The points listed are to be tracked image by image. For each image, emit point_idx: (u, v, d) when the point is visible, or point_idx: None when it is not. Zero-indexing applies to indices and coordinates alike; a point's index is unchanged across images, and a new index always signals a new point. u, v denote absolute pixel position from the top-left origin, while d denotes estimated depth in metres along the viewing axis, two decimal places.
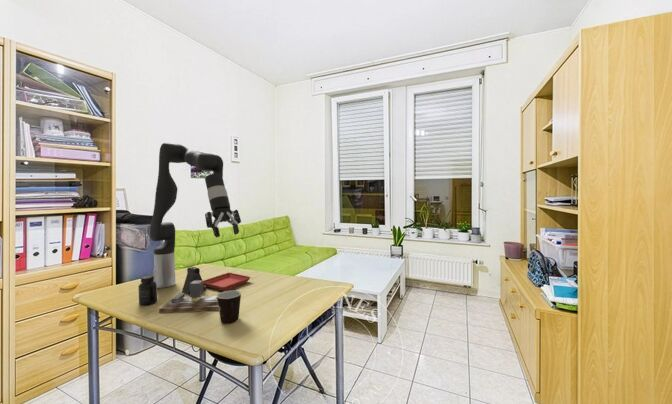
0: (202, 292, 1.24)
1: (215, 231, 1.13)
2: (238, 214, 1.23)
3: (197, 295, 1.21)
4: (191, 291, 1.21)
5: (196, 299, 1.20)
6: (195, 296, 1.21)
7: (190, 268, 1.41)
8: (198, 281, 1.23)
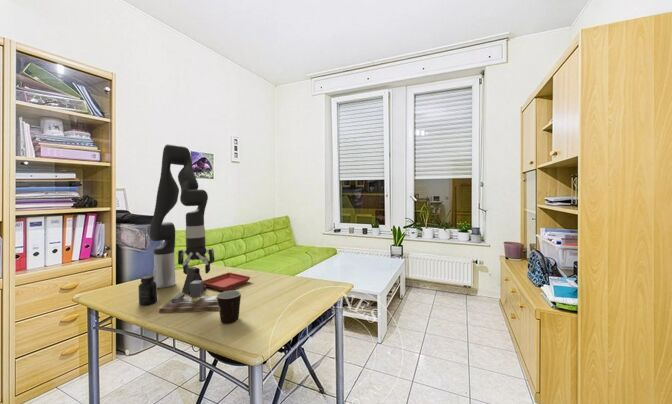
0: (202, 292, 1.24)
1: (183, 269, 1.22)
2: (211, 254, 1.22)
3: (197, 295, 1.21)
4: (191, 291, 1.21)
5: (196, 299, 1.20)
6: (195, 296, 1.21)
7: (190, 268, 1.41)
8: (198, 281, 1.23)
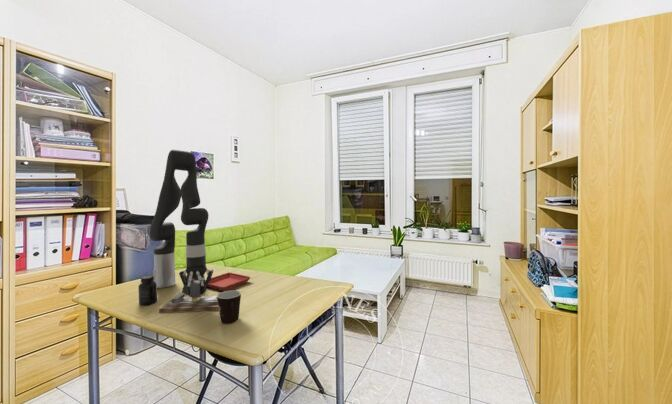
0: None
1: (188, 289, 1.22)
2: (209, 276, 1.22)
3: (197, 295, 1.21)
4: (191, 291, 1.21)
5: (196, 299, 1.20)
6: (195, 296, 1.21)
7: None
8: (198, 281, 1.23)
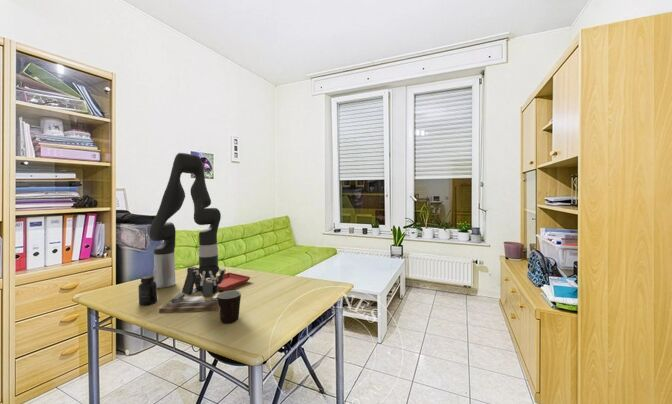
0: None
1: (201, 289, 1.23)
2: (222, 276, 1.23)
3: (210, 295, 1.22)
4: (204, 291, 1.21)
5: (209, 299, 1.21)
6: (208, 296, 1.22)
7: (190, 268, 1.41)
8: (211, 281, 1.23)
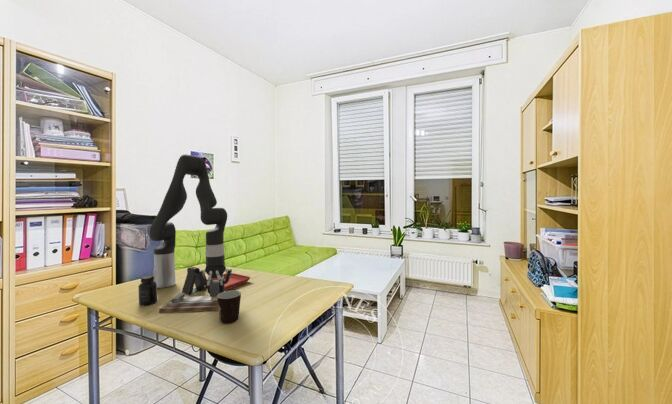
0: None
1: None
2: (228, 275, 1.23)
3: (216, 294, 1.22)
4: (210, 290, 1.22)
5: (216, 298, 1.21)
6: (214, 295, 1.22)
7: (190, 268, 1.41)
8: (217, 281, 1.24)
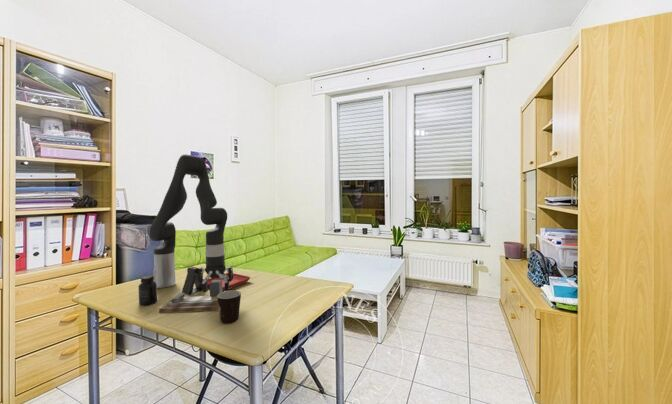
0: (221, 291, 1.25)
1: (203, 287, 1.23)
2: (230, 273, 1.23)
3: (216, 294, 1.22)
4: (210, 290, 1.22)
5: (216, 298, 1.21)
6: (214, 295, 1.22)
7: (190, 268, 1.41)
8: (217, 281, 1.24)
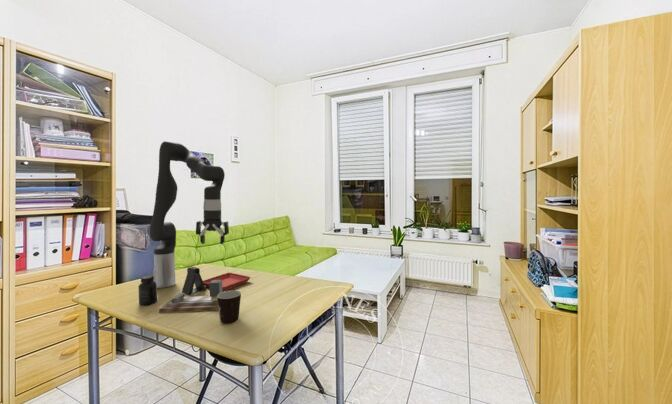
0: (221, 291, 1.25)
1: (200, 239, 1.32)
2: (226, 226, 1.32)
3: (216, 294, 1.22)
4: (210, 290, 1.22)
5: (216, 298, 1.21)
6: (214, 295, 1.22)
7: (190, 268, 1.41)
8: (217, 281, 1.24)
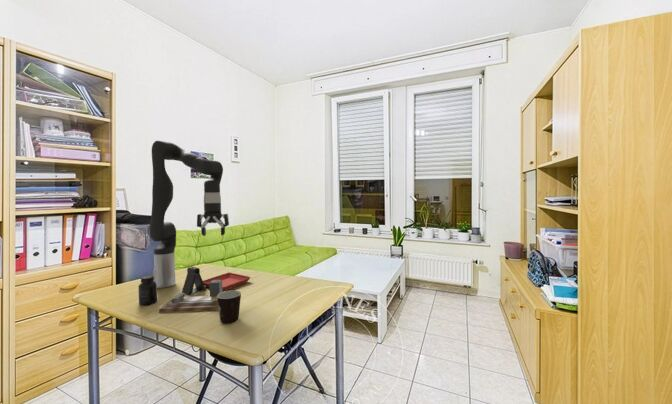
0: (221, 291, 1.25)
1: (201, 231, 1.37)
2: (226, 218, 1.37)
3: (216, 294, 1.22)
4: (210, 290, 1.22)
5: (216, 298, 1.21)
6: (214, 295, 1.22)
7: (190, 268, 1.41)
8: (217, 281, 1.24)
